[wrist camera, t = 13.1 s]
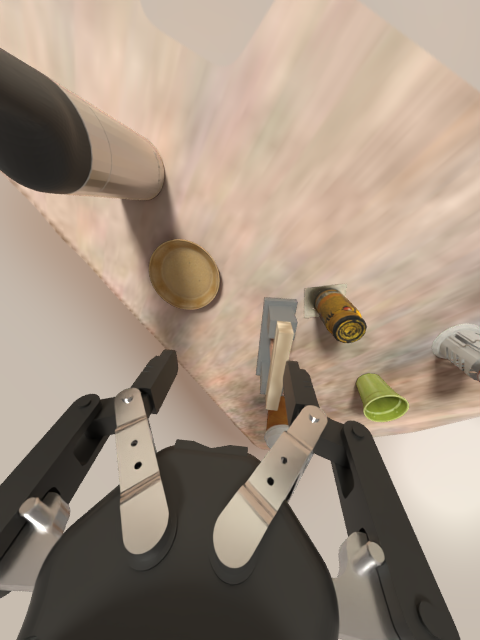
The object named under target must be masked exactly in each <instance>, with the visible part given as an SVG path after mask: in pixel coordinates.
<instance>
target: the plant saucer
mask: <svg viewBox="0 0 480 640" xmlns="http://www.w3.org/2000/svg"><path fill="white" fill-rule="evenodd" d="M149 276H150V280H151V283H152V285H153V287H154V289H155V290H156V292H157V293H158V295H159V296H160V297H161V298H162V299H163V300H165V301H166V302H167V303H169V304H170V305H172V306H174V307H177V308H180V309H185V310H195V309H199V308H202V307H204V306H206V305H208V304H209V303H210V302H211V301H212V300H213V299H214V298H215V296H216V294H217V292H218V289H219V283H220V277H219V272H218V268H217V266H216V263H215V261H214V260H213V258H212V257H211V255H210V254H209V253H208V252H207V251H206V250H205V249H204V248H202V247H201V246H199V245H198V244H196V243H193V242H191V241H188V240H183V239H175V240H169V241H167V242H164V243H163V244H161V245H160V246H158V247H157V249H156V250H155V251H154V252H153V254H152V256H151V258H150V262H149Z"/></svg>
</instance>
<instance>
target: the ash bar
mask: <svg viewBox="0 0 480 640" xmlns="http://www.w3.org/2000/svg"><path fill="white" fill-rule="evenodd" d="M293 336H294V332H293V329H292V325H291V322H284V321H277V324H276V331H275V337H274V343H273V350H272V356H271V362H270V369H269V375H268V381H267V388H266V394H265V397H266V410H275V411H278V406H279V401H280V397H281V392H282V387H283V374H284V369H285V365H286V361H288V359H289V355H290V350H291V345H292V341H293Z"/></svg>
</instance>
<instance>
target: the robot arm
mask: <svg viewBox="0 0 480 640" xmlns="http://www.w3.org/2000/svg"><path fill="white" fill-rule="evenodd" d="M0 170H1V171H2V172H3V173H4V174H6V175H7V176H8V177H10V178H11V179H13V180H14V181H16V182H17V183H19V184H21V185H23V186H25V187H27V188H30V189H33V190H35V191H39V192H45V193H54V194H67V195H80V196H94V197H107V198H120V199H131V200H150V199H152V198H154V197H155V196H157V195H158V194H159V192H160V191H161V189H162V186H163V183H164V167H163V163H162V160H161V157H160V155H159V153H158V151H157V150H156V148H155V147H154V146H153V145H152V143H150V142H149V141H148V140H147V139H146V138H144V137H143V136H141V135H139V134H138V133H136V132H135V131H133V130H132V129H130V128H129V127H127V126H125V125H124V124H122V123H121V122H119V121H117V120H116V119H114V118H113V117H111V116H109V115H108V114H106V113H105V112H103V111H102V110H100V109H98V108H97V107H95V106H94V105H92V104H90V103H89V102H87V101H86V100H84V99H82V98H81V97H79V96H78V95H76V94H74V93H73V92H71V91H69V90H68V89H66V88H65V87H63V86H61V85H60V84H58V83H57V82H55V81H53V80H52V79H50V78H49V77H47V76H45V75H44V74H42V73H41V72H39V71H37V70H36V69H34V68H32V67H31V66H29V65H27V64H26V63H24V62H22V61H21V60H19V59H18V58H16V57H14V56H13V55H11V54H9V53H8V52H6V51H5V50H3V49H1V48H0ZM177 372H178V362H177V355H176V351H175V350H164V351H163V352H162V353H161V355H160V356H156V357H154V358H153V359H151V360H150V361H149V363H148V364H147V365H146V367H145V368H144V370H143V372H141V374H140V375H139V376H138V378H137V379H136V381H135V382H134V383H133V385H132V386H131V388H128V389H125V390H123V391H121V392H120V393H119V394H118V395H117V396H116V397H113V398H107V399H101V400H100V398H99V396H98V395H96V394H88V395H85V396H82V397H81V398H79V399H77V400H76V401H75V402H74V403H73V404H72V405H71V406H70V407H69V408H68V409H67V411H66V412H65V413H64V414H63V415H62V416H61V417H60V419H59V420H58V421H57V422H56V423H55V424H54V425H53V426H52V428H51V429H50V430H49V431H48V432H47V433H46V434H45V435H44V437H43V438H42V439H41V440H40V441H39V442H38V444H37V445H36V446H35V447H34V448H33V449H32V450H31V451H30V453H29V454H28V455H27V456H26V457H25V458H24V459H23V460H22V462H21V463H20V464H19V465H18V466H17V467H16V468H15V469H14V471H13V472H12V473H11V474H10V475H9V476H8V477H7V479H6V480H5V481H4V482H3V483H2V484H1V485H0V598H2V597H3V596H5V595H7V594H8V593H9V592H11V591H29V592H33V594H32V597H31V602H30V605H29V608H28V611H27V614H26V617H25V620H24V622H23V625H22V628H21V630H20V633H19V635H18V637H17V640H338V639H342V640H460V637H459V634H458V631H457V629H456V626H455V624H454V621H453V619H452V617H451V614H450V612H449V610H448V608H447V605H446V603H445V601H444V599H443V596H442V594H441V592H440V589H439V587H438V585H437V583H436V581H435V578H434V576H433V574H432V571H431V569H430V567H429V565H428V562H427V560H426V558H425V555H424V553H423V551H422V549H421V546H420V544H419V542H418V540H417V537H416V535H415V533H414V530H413V528H412V526H411V523H410V521H409V519H408V517H407V514H406V512H405V510H404V508H403V505H402V503H401V501H400V498H399V496H398V494H397V492H396V489H395V487H394V485H393V483H392V480H391V478H390V476H389V473H388V471H387V469H386V467H385V464H384V462H383V460H382V457H381V455H380V453H379V451H378V448H377V446H376V444H375V442H374V439H373V437H372V435H371V433H370V431H369V430H368V429H367V428H366V427H365V426H364V425H362V424H361V423H358V422H356V421H347V422H346V423H345V424H342V423H339V422H337V421H334V420H332V419H330V418H328V417H327V416H326V414H325V413H324V412H323V411H322V410H321V409H320V407H319V404H318V401H317V398H316V395H315V391H314V388H313V385H312V383H311V378H310V375H309V374H308V373H307V372H306V370H304V369H300V368H299V365H298V362H297V361H286V365H285V369H284V374H283V390H284V397H285V405H286V412H287V419H288V427H289V429H288V430H287V431H284V432H283V433H282V434H281V436H280V437H279V438H278V440H277V441H276V442H275V444H274V445H273V446H272V448H271V449H270V450H269V452H268V453H267V455H266V456H265V457H264V459H263V460H262V461H260V460H258V459H257V458H256V457H254V456H252V455H251V454H249V453H247V452H248V448H247V447H242V446H232V445H228V446H222V447H216V448H209V447H207V446H204V445H202V444H199V443H197V442H195V441H187V440H179V439H178V440H176V443H175V445H174V446H170V447H167V448H165V449H162V450H161V451H159V452H157V451H156V447H155V443H154V439H153V436H152V431H151V428H150V424H149V420H148V418H149V416H150V414H157V413H158V411H159V409H160V407H161V405H162V403H163V401H164V399H165V397H166V395H167V393H168V391H169V389H170V387H171V385H172V383H173V381H174V379H175V377H176V375H177ZM112 434H115V438H116V449H117V459H118V471H119V481H120V485H118V486H117V487H116V488H115V489H114V490H112V491H111V492H110V493H109V494H108V495H106V496H105V497H104V498H103V499H102V500H101V501H99V502H98V503H97V504H96V505H95V506H94V507H92V508H91V509H90V510H89V511H88V512H87V513H85V514H84V515H83V516H82V517H81V518H80V519H78V520H77V521H76V522H75V523H74V524H73V525H71V526H70V527H69V528H68V529H67V530H66V532H64V530H65V527H66V524H67V521H68V519H69V516H70V507H69V505H68V504H69V503H70V501H71V499H72V498H73V496H74V494H75V492H76V491H77V489H78V488H79V485H80V484H81V483H82V481H83V479H84V477H85V476H86V474H87V472H88V471H89V469H90V467H91V466H92V464H93V462H94V461H95V459H96V457H97V456H98V454H99V452H100V451H101V449H102V447H103V445H104V444H105V442H106V441H107V439H108V437H109V436H110V435H112ZM314 453H315V454H317V455H319V456H321V457H323V458H326V459H328V460H330V461H331V464H332V469H333V473H334V477H335V482H336V486H337V490H338V495H339V499H340V503H341V508H342V512H343V516H344V520H345V525H346V529H347V534H348V538H347V539H346V540H345V541H344V542H343V543H342V545H341V546H340V549H339V574H338V576H337V578H331V575H330V573H329V570H328V568H327V566H326V564H325V562H324V561H323V559H322V557H321V555H320V554H319V552H318V551H317V549H316V547H315V546H314V544H313V542H312V541H311V539H310V538H309V536H308V534H307V533H306V531H305V530H304V528H303V526H302V525H301V523H300V522H299V520H298V518H297V517H296V515H295V514H294V512H293V510H292V509H291V507H290V506H289V504H288V502H289V500H290V499H291V497H292V494H293V493H294V491H295V489H296V487H297V485H298V483H299V481H300V479H301V477H302V475H303V473H304V471H305V469H306V467H307V466H308V464H309V462H310V460H311V458H312V456H313V454H314ZM63 532H64V533H63Z"/></svg>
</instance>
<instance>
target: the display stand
mask: <svg viewBox="0 0 480 640" xmlns="http://www.w3.org/2000/svg"><path fill="white" fill-rule="evenodd" d="M297 303H298V302H297V300H295V299H281V298H267V297H264V306H263V315H262V324H261V333H260V342H259V351H258V360H257V369H256V375H260V394H266V388H267V381H268V375H269V369H270V362H271V356H272V350H273V343H274V337H275V331H276V324H277V321H284V322H291V325H292V329H293V332H294V336H293V340H294V337H295V332H296V328H297V323H298V322H297V319H296V316H295V313H296V308H297ZM282 393H283V387H282V392H281V396H282Z"/></svg>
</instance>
